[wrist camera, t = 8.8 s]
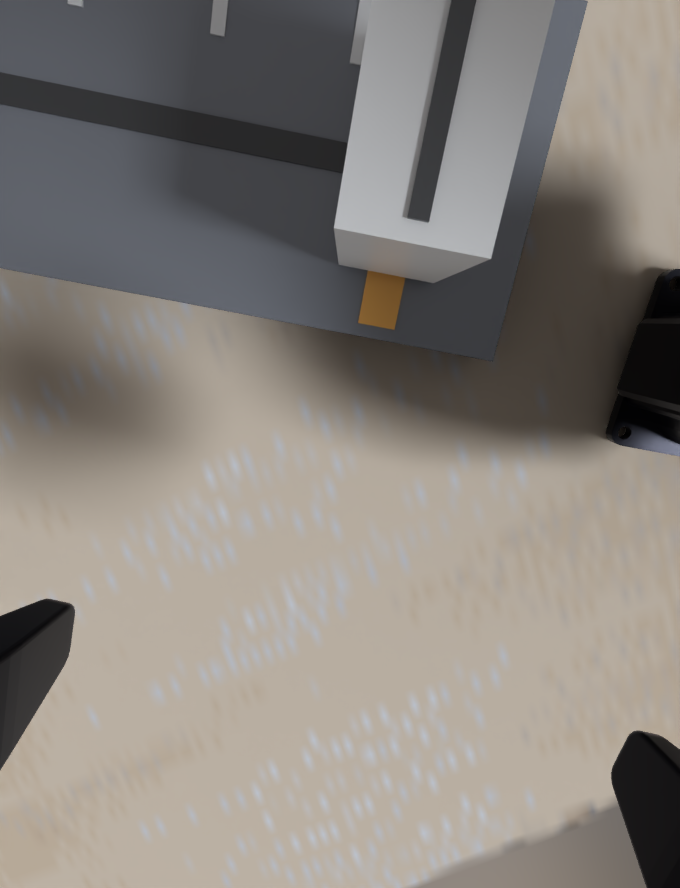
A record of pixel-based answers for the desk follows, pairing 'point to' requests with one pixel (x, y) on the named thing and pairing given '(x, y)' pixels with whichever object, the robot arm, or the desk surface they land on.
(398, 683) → the desk surface
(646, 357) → the robot arm
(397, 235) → the fader knob
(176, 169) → the fader board
